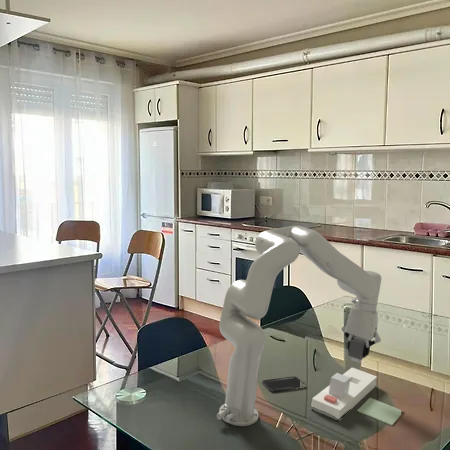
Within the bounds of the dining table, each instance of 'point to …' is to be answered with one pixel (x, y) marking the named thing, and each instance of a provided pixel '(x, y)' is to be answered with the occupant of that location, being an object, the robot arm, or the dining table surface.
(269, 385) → the phone
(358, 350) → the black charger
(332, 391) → the block
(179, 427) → the dining table surface
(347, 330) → the robot arm
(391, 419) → the green mat
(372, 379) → the power strip
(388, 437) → the dining table surface
